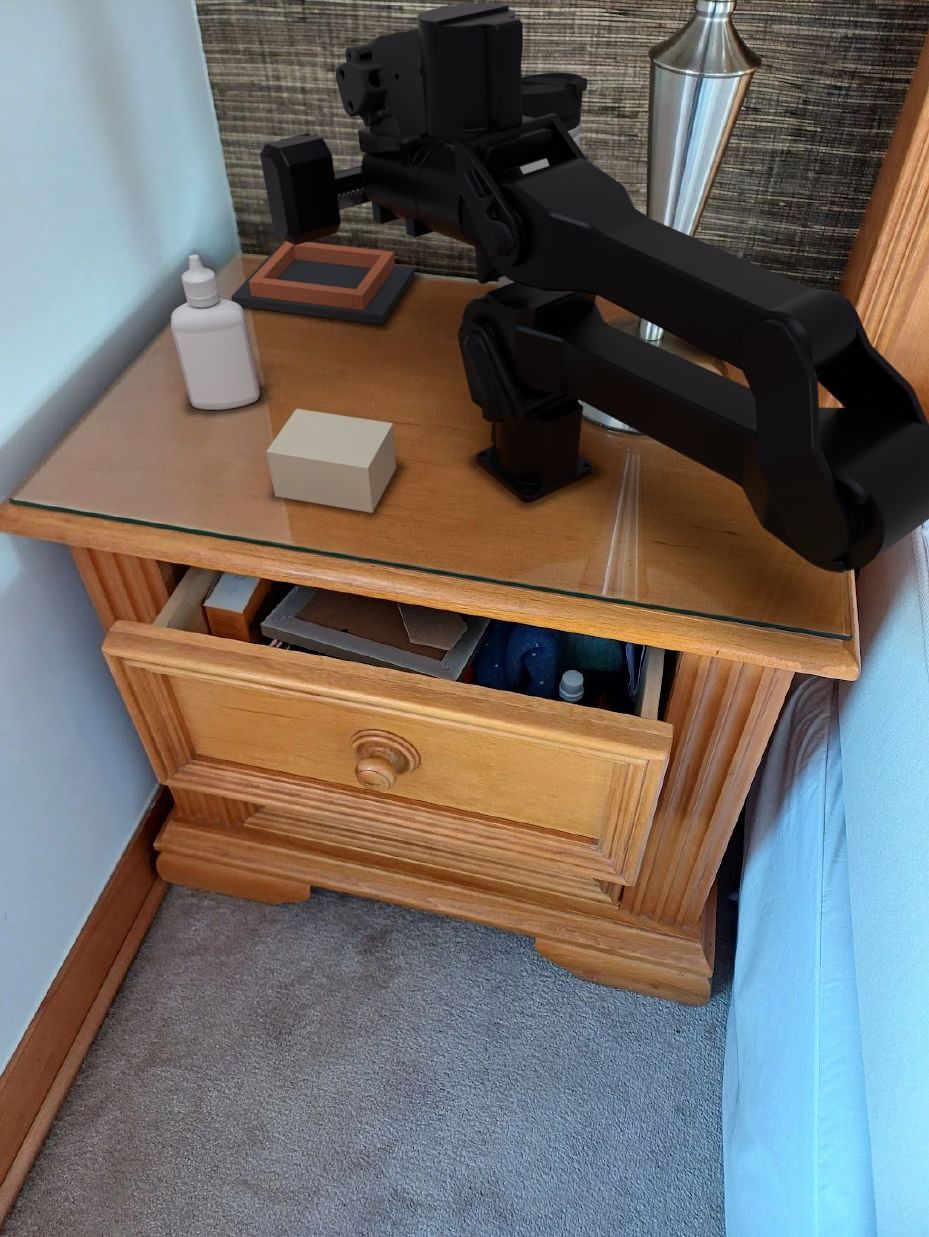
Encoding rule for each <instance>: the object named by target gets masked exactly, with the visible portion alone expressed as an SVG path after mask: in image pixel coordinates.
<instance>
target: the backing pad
mask: <svg viewBox="0 0 929 1237" xmlns="http://www.w3.org/2000/svg"><path fill="white" fill-rule="evenodd" d="M395 261H396V260H395V252H394V251H390V250H382V249H372V248H363V247H355V246H346V245H339V244H338V245H337V244H328V243H319V242H312V241H309V242H305V243H302V244H298V245H294V244H291V243H289V242H287V241H284V242H283V244H282V245H281V246H280V247H279V248H278V249H277V250H273V251H272V252H271V253H270V254H269V255H268V256H267V257H266V258H265V260H264V261H263V262H262V263H261V264H260V265H259V266H258V267H257V268H256V269H255V270H254V271H253V272H252V273H251V275H250V276H248V277H247V279H246V280H245V281H244V282H243V283H242V284H241V285H240V286H239V287H238V289H237V290H236V291H235V292H234V293H233V294H232V295H231V301H233V302H235V303H237V304H239V305H240V306H241V307H242V308H247V309H248V308H249V309H256V310H262V311H263V310H264V311H269V312H270V311H271V312H278V313H285V314H286V313H287V314H294V315H300V316H301V315H302V316H310V317H315V318H316V317H317V318H324V319H325V318H326V319H331V320H341V321H347V322H355V323H363V324H371V325H379V326H384V324H385V323H386V322H387V320H388V318H389V317H390V315H391V314H392V313H393V311H394V309H395V308H396V306H397V305H398V303H399V301H400V300H401V298H402V297H403V295H405V292H406V291H407V289H408V288H409V286H411V284H412V282H413V280H414V279H415V277H416V270H415V267H414V266H406V265H398V264H396V263H395Z"/></svg>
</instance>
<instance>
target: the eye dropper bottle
mask: <svg viewBox="0 0 929 1237" xmlns="http://www.w3.org/2000/svg"><path fill="white" fill-rule="evenodd" d="M181 282H182V286H183V290H184V295H185V298H186V302H185V303H183V304H181V305H179V306H178V307H176V308H175V309H174V310H173V311H172V313H171V316H170V326H171V332H172V336H173V340H174V344H175V348H176V351H177V356H178V360H179V364H180V368H181V371H182V376H183V379H184V382H185V386H186V391H187V394H188V399H189V402H190V403H191V405H192V407H193V408H196V409H200V410H206V411H207V410H209V411H221V410H231V409H235V408H240V407H244V406H247V405H251V404H253V403H255V402H257V401H258V399H259V397H260V395H261V393H260V385H259V378H258V374H257V373H258V372H257V369H256V364H255V358H254V354H253V349H252V343H251V338H250V333H249V328H248V323H247V319H246V315H245V311H244V308H243V307H241V306H240V305H239V304H237V303H235V302H233V301H232V300H229V299H226V298H221V297H220V293H219V287H218V283H217V278H216V274H215V272H214V270H212V269H211V268H208V267H204V265H203V263H202V261H201V259H200V256H199V255H198V254H190V255H189V256H188V270H186V271H185V272H183V273H182V275H181Z"/></svg>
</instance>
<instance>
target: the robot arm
mask: <svg viewBox="0 0 929 1237" xmlns="http://www.w3.org/2000/svg"><path fill="white" fill-rule="evenodd" d="M516 16H517V15H516V12H515V10H514V9H511V8H510V5H509V4H504V3H494V2H493V3H492V2H489V3H486V2H484V3H481V2H480V3H465V4H464V3H463V4H455V5H448V6H442V7H441V6H440V7H436V8H432V9H429V10H424V11H421V12H420V13H418V14H417V15H416V20H417V29H409V30H406V31H405V30H404V31H400V32H394V33H389V34H383V35H379V36H377V37H375V38H374V39H372V40H371V41H369V42H367V43H366V44H362V45H356V46H351V47H347V48H346V49H345V51H344V56H345V62H343V63H342V64H339V65H338V66H337V67H336V69H335V81H336V85H337V88H338V92H339V95H340V99H341V103H342V106H343V109H344V112H345V113H346V114H347V116H348V117H350V118H352V117H357V116H359V117H360V118H361V120H362V122H363V125H364V126H365V127H366V128H361V129H358V130H357V137H358V146H359V150H360V151H361V153H363V155H362V159H361V164H360V165H357V166H354V167H349V168H345V169H341V170H338V171H335V167H334V161H333V160H334V159H333V154H332V153H331V151H330V148H329V147H328V145H327V143H326V141H325V139H324V138H323V137H321V136H318V135H316V134H315V135H311V134H310V133H309V132H308V133H304V134H299V135H295V136H290V137H285V138H281V139H278V140H274V141H269V142H266V143H264V146H263V147H262V149H261V151H260V153H259V158H260V164H261V168H262V169H261V170H262V174H263V181H264V185H265V186H264V187H265V191H266V195H267V202H268V208H269V214H270V218H271V225H272V230H273V234H275V235H276V236H277V237H279V238H280V239H281V240H283V241H284V242H286V241H287V242H289V243H291V244H294V245H298V244H302V243H305V242H312V241H316V240H319V239H322V238H325V237H329V236H332V235H333V236H334V235H336V234H337V232H338V230H339V228H340V227H341V224H342V221H341V214H340V211H343V210H346V209H349V208H353V207H356V206H360V205H363V204H367V203H371V211H372V221H373V222H375V223H377V224H380V225H383V224H386V223H390V222H393V221H396V220H399V219H401V220H403V221H404V222H405V232H406V233H405V234H406V235H408V236H410V237H412V238H418V237H421V236H424V235H427V234H431V233H438V234H440V235H442V236H445V237H448V238H450V239H453V240H455V241H458V242H461V243H464V244H466V245H468V246H470V247H473V249H474V252H475V265H476V279H477V282H478V283H479V284H480V285H485V284H487V283H490V282H493V281H495V280H499V278H501V277H503V276H505V277H506V278H508V279H509V280H511V281H513V283H510V284H508V285H505V286H503V287H500V288H499V287H497V288H495V289H493V290H490V291H488V292H486V293H484V294H482V295H479V296H477V297H474V298H472V299H469V301H468V303H467V304H466V305H465V306H464V310H463V313H462V317H461V318H462V319H461V324H460V326H459V328H458V332H457V341H458V347H459V351H460V355H461V360H462V364H463V368H464V373H465V377H466V382H467V387H468V390H469V391H468V392H469V394H470V395H469V396H470V400H471V401H472V403H473V404H474V405H475V406H477V407H479V408H480V410H481V413H482V414H481V419H483V420H485V421H486V422H487V423H491V428H490V429H491V432H490V433H491V434H490V438H491V439H490V442H491V443H492V446H490V447H487V448H485V449H483V450H480V451H478V452H476V455H475V461H476V462H477V463H478V464H479V465H481V467H482V468H484V469H485V470H486V471H488V473H490V474H491V475H492V476H493V477H494V478H496V479H497V480H498V481H499V482H501V484H503V485H504V486H505V487H506V488H508V490H510V491H511V492H512V493H514V494H515V495H516V496H517V497H518V498H519V499H521V500H522V501H524V502H532V501H533V500H535V499H538V498H540V497H542V496H544V495H546V494H548V493H551V492H553V491H555V490H557V489H560V488H561V487H564V486H566V485H568V484H570V483H573V482H574V481H577V480H578V479H581V478H583V477H585V476H588V475H589V474H591V473H592V472H593V470H594V469H593V468H594V465H593V463H592V462H591V461H589V460H587V458H585V457H584V456H583V455H581V454H580V445H581V436H582V435H581V434H582V425H583V424H582V423H583V416H584V405H583V404H581V403H580V402H582V403H584V404H586V405H587V406H590V407H591V408H593V409H595V410H597V411H598V412H599V411H600V412H601V413H603V414H605V415H607V416H609V417H610V418H613V419H614V420H616V421H618V422H620V423H621V424H623V425H625V426H628V427H629V428H631V429H633V430H635V431H637V432H639V433H641V434H642V435H643V436H646V437H648V438H650V439H652V440H654V441H656V442H658V443H659V444H661V445H663V446H665V447H667V448H669V449H670V450H672V451H674V452H676V453H678V454H681V455H682V456H684V457H686V458H688V459H690V460H692V461H693V462H694V463H695V462H696V463H697V464H699V465H701V466H703V467H705V468H706V469H708V470H710V471H712V472H714V473H716V474H718V475H719V476H722V477H723V478H725V479H727V480H729V481H731V482H732V483H734V484H736V485H738V486H739V487H740V488H741V489H742V491H743V492H744V495H745V497H746V499H747V501H748V503H749V504H750V507H751V509H752V511H753V513H754V514H755V517H756V519H757V521H758V523H759V525H760V526H761V527H762V528H763V529H764V530H765V531H766V532H768V533H769V534H770V535H772V536H773V537H774V538H776V539H777V540H778V541H780V542H781V543H782V544H783V545H785V546H786V547H787V548H789V549H790V550H792V551H793V552H794V553H796V554H797V555H798V556H799V557H801V558H802V559H804V560H805V561H806V562H807V563H809V564H810V565H812V566H814V567H816V568H818V569H821V570H824V571H826V572H828V573H834V574H844V573H845V572H850V571H854V570H858V569H862V568H864V567H866V566H867V565H869V564H870V563H872V562H873V561H874V560H875V559H877V558H878V557H879V556H881V555H882V554H884V553H885V552H886V551H888V550H889V549H891V548H892V547H893V546H894V545H896V544H897V543H898V542H900V541H901V540H902V539H904V538H905V537H907V536H908V535H909V534H911V533H912V532H914V531H915V530H917V529H918V528H919V527H920V526H922V525H924V524H925V523H926V522H927V521H928V520H929V421H928V419H927V416H926V414H925V412H924V410H923V407H922V405H921V402H920V400H919V398H918V395H917V393H916V391H915V389H914V387H913V386H912V384H911V383H910V382H909V381H908V380H907V379H906V378H905V377H904V376H903V375H902V374H901V373H900V372H899V371H898V370H897V369H896V368H895V367H894V366H893V365H892V364H891V363H890V362H889V361H888V360H887V359H886V358H885V357H884V356H883V355H882V354H881V352H880V351H878V349H876V348H875V347H874V346H873V345H872V343H871V342H870V339H869V336H868V333H867V332H866V330H865V327H864V325H863V322H862V320H861V317H860V315H859V313H858V311H857V309H856V308H855V307H854V305H853V303H852V302H851V300H850V299H849V298H847V297H846V296H845V295H843V294H841V293H840V292H839V291H834V290H827V289H821V288H819V289H817V288H812V287H810V286H809V287H808V286H806V285H805V284H801V283H799V282H797V281H795V280H793V279H790V278H788V277H786V276H783V275H782V274H779V273H776V272H774V271H772V270H770V269H767V268H766V267H763V266H760V265H758V264H756V263H753V262H751V261H749V260H746V259H744V258H743V257H740V256H737V255H735V254H732V253H730V252H728V251H726V250H724V249H721V248H718V247H716V246H714V245H713V244H710V243H708V242H705V241H703V240H701V239H699V238H696V237H694V236H691V235H689V234H687V233H685V232H682V231H680V230H678V229H675V228H673V227H670V226H669V225H666V224H664V223H662V222H659V221H657V220H655V219H653V218H650V217H648V216H647V215H645V214H644V213H642V212H641V211H640V210H638V209H637V208H636V206H635V204H634V202H633V200H632V197H631V196H630V194H629V192H628V190H627V188H626V187H625V186H624V184H622V183H621V182H619V181H618V180H616V179H615V178H614V177H612V176H611V175H610V174H608V173H607V172H605V171H603V170H602V169H600V168H599V167H598V166H596V165H594V164H593V163H592V162H590V161H589V160H588V158H587V157H586V155H585V154H584V152H583V151H582V150H581V148H580V146H579V147H578V145H577V144H576V142H575V141H574V140H573V138H572V137H571V135H570V134H569V132H568V131H567V129H566V128H565V126H564V125H563V124H562V122H561V121H560V119H559V118H558V116H557V115H556V114H555V113H553V114H549V115H546V116H542V117H539V118H536V119H535V118H531V117H526V116H523V115H522V81H521V78H522V59H523V58H522V57H523V50H524V29H523V28H524V25H523V24H524V23H523V22H522V20H521V19H520V18H516ZM546 158H547V161H548V164H549V166H547V167H544V168H541V169H538V170H535V171H532V172H529V173H526V174H523V172H522V170H521V168H520V167H522V166H525V165H528V164H531V163H534V162H537V161H540V160H543V159H546ZM597 297H600V298H602V299H605V300H606V301H608V302H610V303H611V304H613V305H615V306H617V307H619V308H621V309H623V310H625V311H627V312H629V313H630V314H632V315H635V316H636V317H639V318H640V319H642V320H644V321H645V322H648V323H650V324H651V325H653V326H656V327H658V328H660V329H662V330H663V331H665V332H668V333H669V334H671V335H672V336H675V337H677V338H679V339H681V340H683V341H684V342H687V343H689V344H690V345H692V346H695V347H696V348H698V349H700V350H702V351H703V352H706V353H708V354H710V355H711V356H713V357H715V358H718V359H719V360H721V361H723V362H725V363H726V364H728V365H731V366H733V367H735V368H737V369H738V370H741V371H742V374H743V376H744V378H745V380H746V383H747V384H748V386H747V385H744V384H741V383H739V382H737V381H735V380H733V379H731V378H728V377H726V376H724V375H722V374H719V373H717V372H715V371H713V370H710V369H709V368H707V367H703V366H701V365H700V364H697V363H695V362H693V361H691V360H689V359H686V358H683V357H682V356H679V355H677V354H675V353H672V352H670V351H669V350H666V349H663V348H661V347H659V346H657V345H654V344H653V343H650V342H648V341H646V340H644V339H641V338H639V337H637V336H635V335H632V334H630V333H628V332H626V331H623V330H622V329H619V328H616V327H615V326H613V325H610V324H609V323H607V322H606V320H605V318H604V316H603V313H602V311H601V310H600V307H599V304H598V302H597V300H596V298H597ZM819 384H820V385H821V386H822V387H823V388H824V390H826V391H827V392H828V393H829V394H830V395H832V397H833V398H835V400H837V402H839V404H841V405H842V407H825V406H824V407H822V406H821V407H820V402H819V400H820V399H819ZM579 401H580V402H579Z"/></svg>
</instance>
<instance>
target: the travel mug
mask: <svg viewBox="0 0 929 1237" xmlns="http://www.w3.org/2000/svg"><path fill="white" fill-rule="evenodd" d="M521 81H522V115H523V116H526V117H531V118H535V119H536V118H539V117H542V116H546V115H549V114H553V113H555V114H556V115H557V116H558V118H559V119H560V121H561V122H562V124H563V125H564V126H565V128H566V129H567V131H568V132H569V134H570V135H571V137H572V138H573V140H574V141H575V142H576V144H577V145H578V147H579V148H580V140H581V127H582V112H581V110H582V106H583V94H584V92H586V91H587V89H588V78H587V77H583V76H582V75H580V74H577V73H571V72H545V73H538V74H537V73H536V74H531V75H526V76H523V77H522V76H521ZM547 166H549V164H548V161H547V158H546V159H543V160H540V161H537V162H534V163H531V164H528V165H525V166H522V167H520V168H521V170H522V172H523V174H526V173H529V172H532V171H535V170H538V169H541V168H544V167H547ZM510 283H513V281H511V280H509V279H508V278H506V277H505V276H503V277H501V278H498V288H500V287H503V286H505V285H508V284H510Z"/></svg>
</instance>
